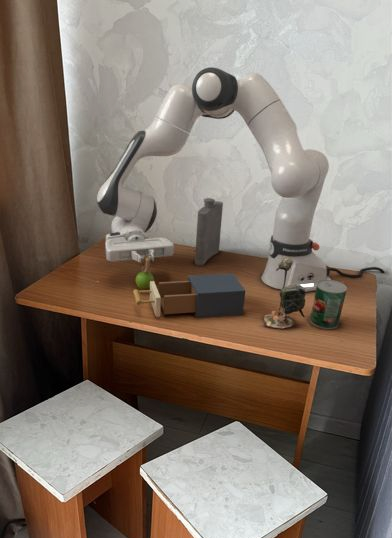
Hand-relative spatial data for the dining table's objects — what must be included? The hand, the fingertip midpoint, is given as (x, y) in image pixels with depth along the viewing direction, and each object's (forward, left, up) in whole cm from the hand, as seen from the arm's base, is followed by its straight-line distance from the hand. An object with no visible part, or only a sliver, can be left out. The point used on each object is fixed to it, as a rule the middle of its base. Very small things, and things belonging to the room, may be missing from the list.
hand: (146, 259), depth 141 cm
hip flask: (-25, -25, -11) cm, 37 cm away
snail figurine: (0, -1, -10) cm, 10 cm away
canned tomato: (-46, +24, -11) cm, 53 cm away
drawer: (-4, +11, -10) cm, 15 cm away
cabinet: (-18, +11, -10) cm, 23 cm away
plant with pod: (-34, +23, -11) cm, 42 cm away
